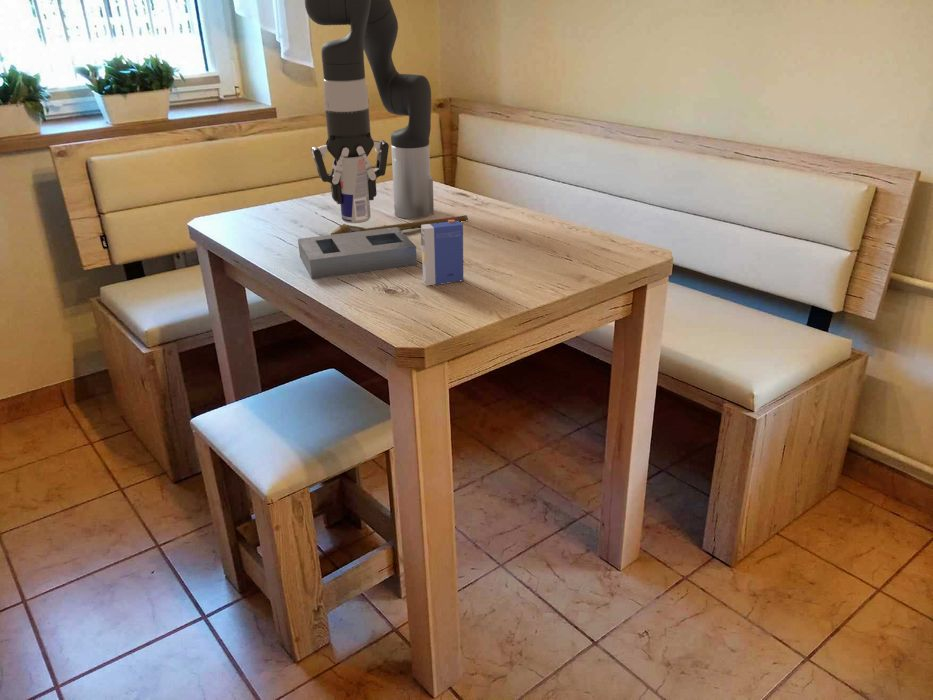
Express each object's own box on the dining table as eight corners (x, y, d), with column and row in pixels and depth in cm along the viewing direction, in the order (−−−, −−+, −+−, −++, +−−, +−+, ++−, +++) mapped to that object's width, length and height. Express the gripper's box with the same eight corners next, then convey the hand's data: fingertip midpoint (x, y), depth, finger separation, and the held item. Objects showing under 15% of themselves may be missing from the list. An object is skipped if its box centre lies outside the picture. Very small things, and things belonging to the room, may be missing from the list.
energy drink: (342, 215, 142) (336, 151, 136) (371, 214, 142) (366, 150, 136) (341, 224, 137) (334, 158, 131) (370, 223, 137) (365, 157, 132)
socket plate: (398, 244, 168) (397, 226, 167) (416, 264, 157) (416, 246, 155) (299, 256, 161) (297, 238, 160) (311, 278, 150) (309, 260, 148)
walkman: (458, 276, 151) (458, 218, 145) (463, 281, 148) (463, 222, 143) (421, 281, 148) (419, 223, 143) (425, 286, 146) (423, 227, 140)
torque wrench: (460, 224, 187) (470, 231, 183) (328, 242, 170) (336, 250, 166) (462, 206, 184) (472, 212, 181) (328, 222, 167) (336, 230, 164)
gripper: (381, 99, 135) (386, 191, 143) (301, 105, 131) (312, 200, 139) (392, 106, 129) (398, 202, 137) (309, 112, 125) (319, 211, 133)
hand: (354, 200), depth 138 cm, fingers closed on energy drink, 5 cm apart
